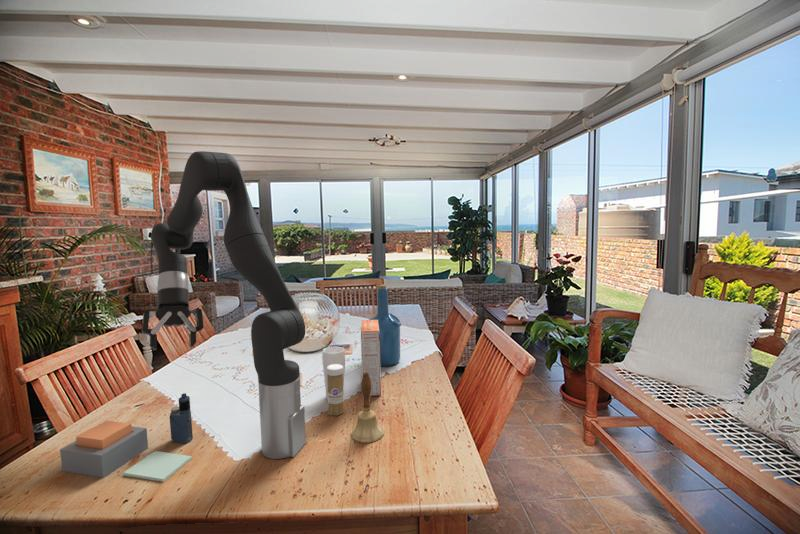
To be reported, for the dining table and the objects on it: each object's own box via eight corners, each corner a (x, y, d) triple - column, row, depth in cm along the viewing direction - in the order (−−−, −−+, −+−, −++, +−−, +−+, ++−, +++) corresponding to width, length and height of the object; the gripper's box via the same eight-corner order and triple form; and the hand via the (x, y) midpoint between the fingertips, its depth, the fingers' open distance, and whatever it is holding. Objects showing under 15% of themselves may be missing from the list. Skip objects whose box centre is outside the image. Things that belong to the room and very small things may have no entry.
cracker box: (362, 379, 131) (361, 319, 129) (379, 378, 131) (378, 319, 129) (361, 397, 117) (360, 330, 115) (381, 396, 117) (380, 330, 115)
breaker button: (132, 435, 89) (131, 423, 89) (103, 453, 82) (101, 440, 82) (107, 432, 90) (106, 420, 90) (77, 449, 84) (76, 436, 83)
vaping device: (187, 444, 92) (184, 397, 91) (169, 442, 93) (165, 395, 92) (195, 438, 95) (192, 392, 93) (177, 436, 96) (173, 390, 95)
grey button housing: (148, 448, 91) (146, 428, 90) (103, 477, 80) (101, 455, 80) (110, 442, 93) (108, 423, 93) (62, 471, 82) (59, 449, 82)
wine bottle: (362, 366, 142) (360, 287, 139) (370, 354, 155) (369, 282, 152) (398, 368, 140) (397, 288, 137) (404, 356, 153) (403, 282, 150)
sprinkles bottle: (329, 417, 105) (328, 370, 103) (326, 410, 109) (325, 364, 107) (346, 414, 106) (345, 367, 105) (342, 407, 111) (340, 362, 109)
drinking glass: (335, 404, 113) (334, 354, 111) (318, 398, 116) (317, 351, 115) (350, 395, 118) (349, 348, 117) (333, 390, 122) (332, 344, 120)
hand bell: (344, 434, 96) (342, 373, 94) (368, 422, 102) (367, 364, 100) (366, 447, 91) (365, 382, 89) (390, 433, 97) (389, 372, 95)
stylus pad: (192, 458, 87) (192, 456, 86) (163, 481, 79) (163, 479, 79) (155, 453, 89) (155, 451, 89) (123, 475, 81) (123, 472, 81)
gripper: (143, 286, 100) (143, 348, 95) (204, 286, 108) (206, 343, 104) (141, 294, 105) (140, 353, 100) (198, 293, 114) (200, 348, 109)
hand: (173, 348), depth 102 cm, fingers open, 8 cm apart
